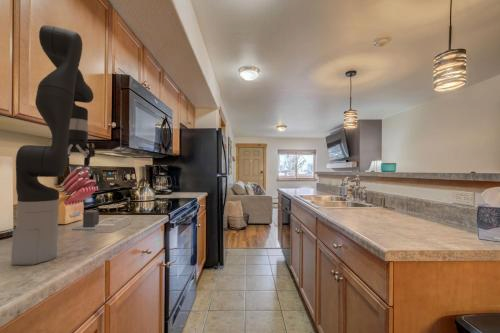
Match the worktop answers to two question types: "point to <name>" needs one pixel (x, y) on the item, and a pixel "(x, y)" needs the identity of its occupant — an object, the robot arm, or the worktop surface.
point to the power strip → (112, 224)
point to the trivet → (84, 228)
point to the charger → (90, 218)
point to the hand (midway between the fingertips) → (76, 166)
